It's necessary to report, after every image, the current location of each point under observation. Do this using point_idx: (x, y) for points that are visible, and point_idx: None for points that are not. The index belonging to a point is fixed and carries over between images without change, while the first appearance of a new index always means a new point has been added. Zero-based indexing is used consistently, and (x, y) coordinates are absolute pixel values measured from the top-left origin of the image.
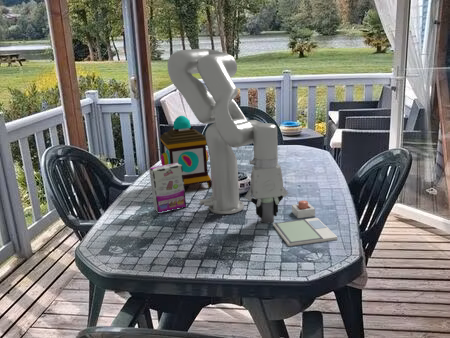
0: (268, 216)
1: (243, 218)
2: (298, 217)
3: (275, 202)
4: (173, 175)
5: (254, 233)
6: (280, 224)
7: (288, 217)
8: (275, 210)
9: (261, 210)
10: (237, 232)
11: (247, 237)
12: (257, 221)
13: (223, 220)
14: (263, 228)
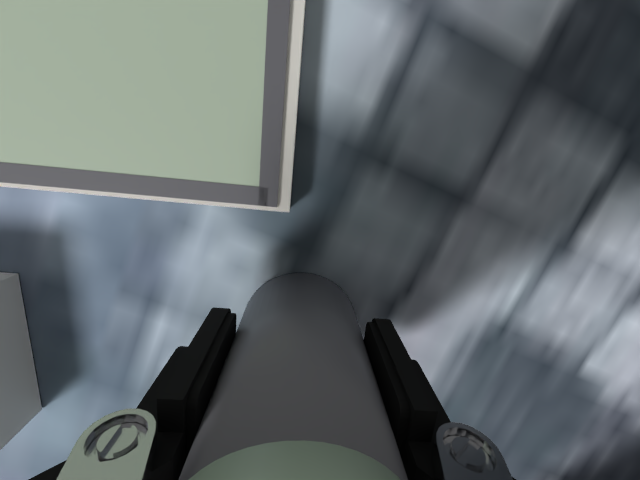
0: (309, 301)
1: None
2: (5, 275)
3: (150, 448)
4: None
5: (510, 115)
6: (232, 149)
7: (102, 321)
8: (206, 342)
9: (393, 370)
10: (617, 197)
11: (607, 54)
12: None
13: (581, 431)
14: (392, 187)
